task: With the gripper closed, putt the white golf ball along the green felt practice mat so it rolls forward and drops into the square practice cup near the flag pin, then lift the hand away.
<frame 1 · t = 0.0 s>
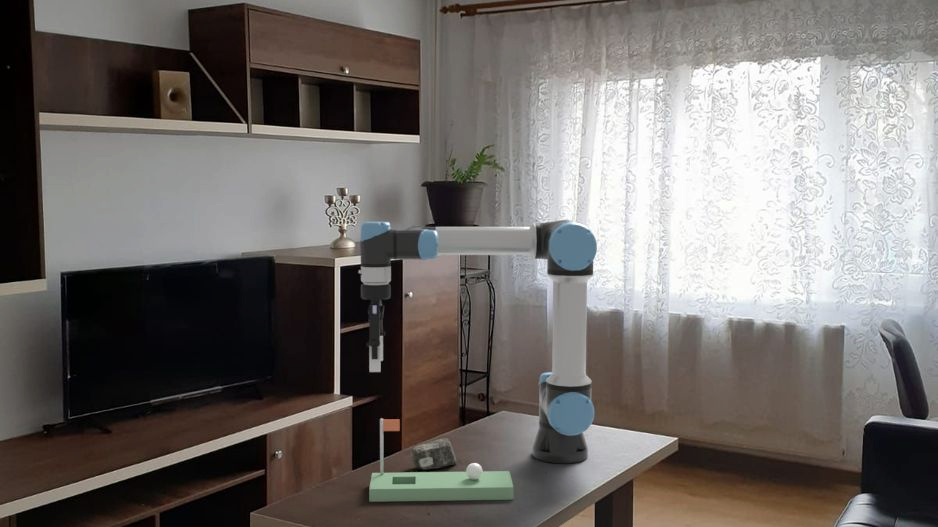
hand: (376, 366, 236), 28 cm above the table, fingers open, 13 cm apart
ball: (474, 471, 225), point 5 cm above the table, touching green
stone: (436, 467, 245), on the table
green: (441, 491, 225), on the table
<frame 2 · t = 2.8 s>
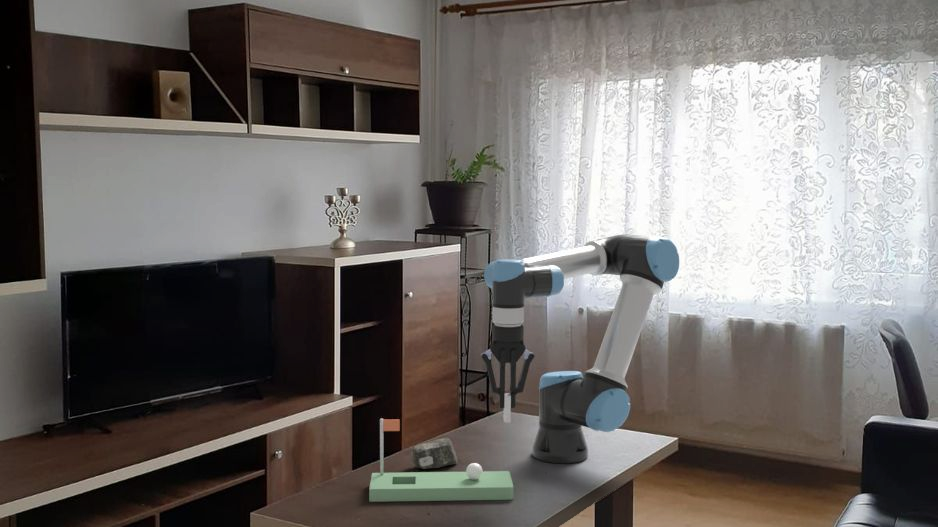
hand: (507, 421, 224), 17 cm above the table, fingers closed
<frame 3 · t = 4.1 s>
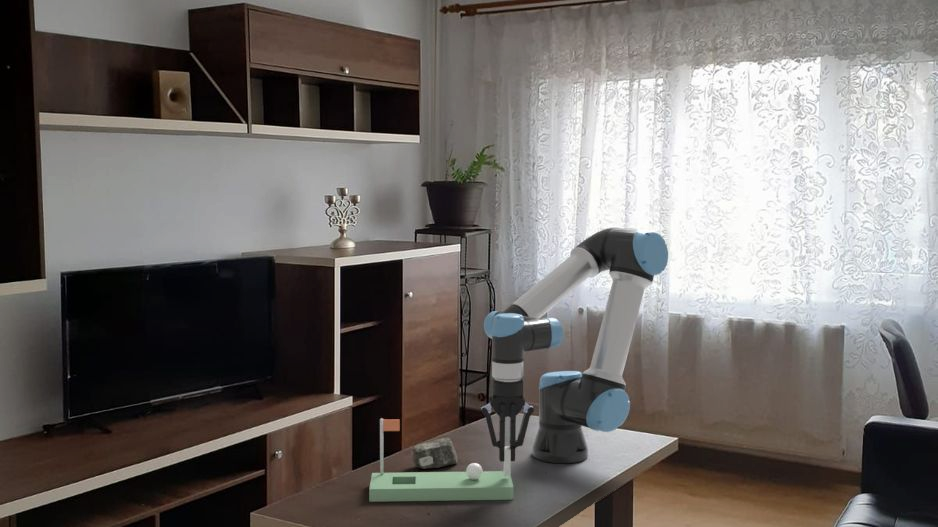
hand: (506, 474, 225), 4 cm above the table, fingers closed
nothing on the table moved.
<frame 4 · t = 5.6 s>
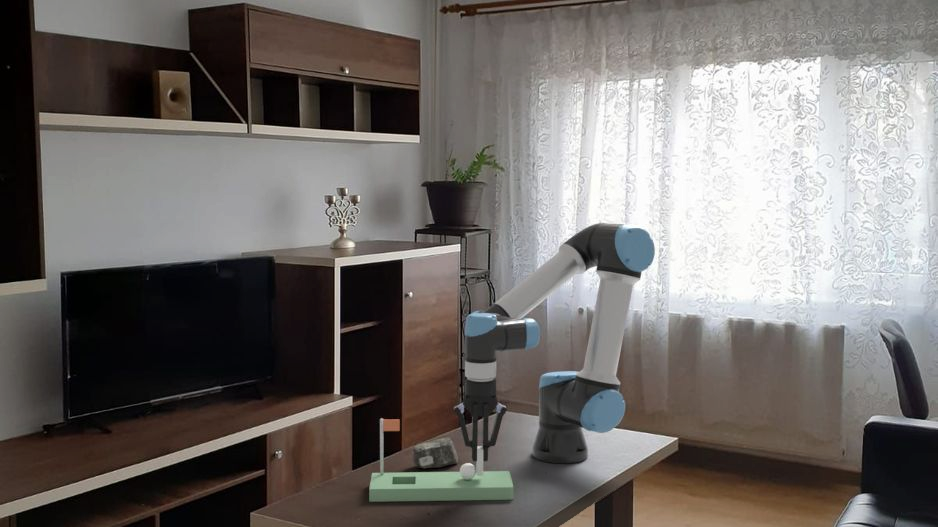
hand: (479, 473, 225), 4 cm above the table, fingers closed
ball: (467, 471, 225), point 5 cm above the table, tilted 42°, touching green
everything else where it was.
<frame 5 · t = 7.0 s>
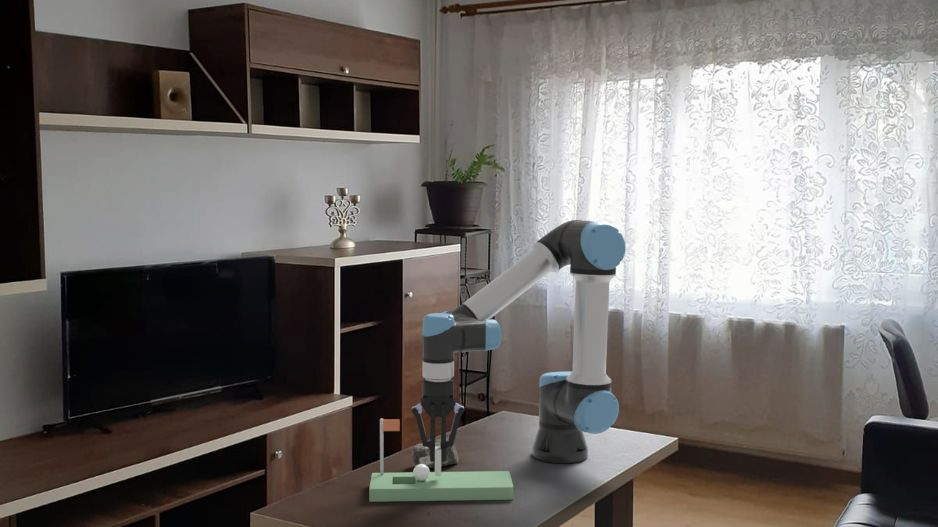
hand: (437, 474, 225), 4 cm above the table, fingers closed
ball: (421, 472, 224), point 5 cm above the table, touching green
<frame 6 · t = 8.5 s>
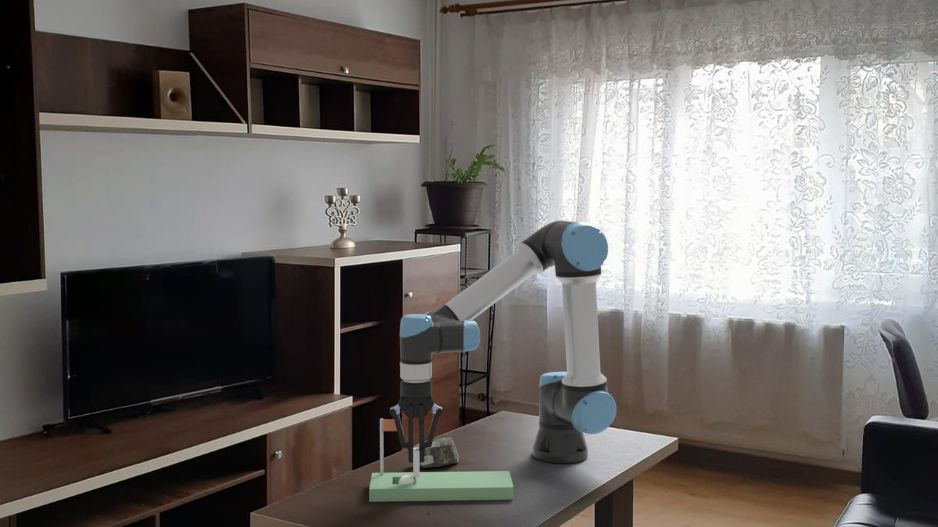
hand: (416, 475, 224), 4 cm above the table, fingers closed
ball: (406, 483, 224), point 2 cm above the table, tilted 133°, touching green
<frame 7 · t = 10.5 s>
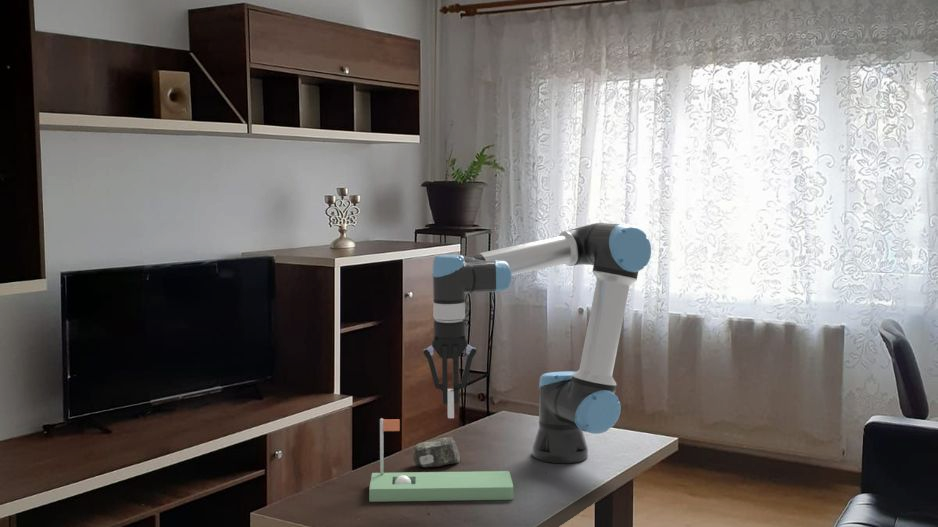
hand: (450, 416, 224), 19 cm above the table, fingers closed
ball: (403, 483, 224), point 2 cm above the table, tilted 158°, touching green
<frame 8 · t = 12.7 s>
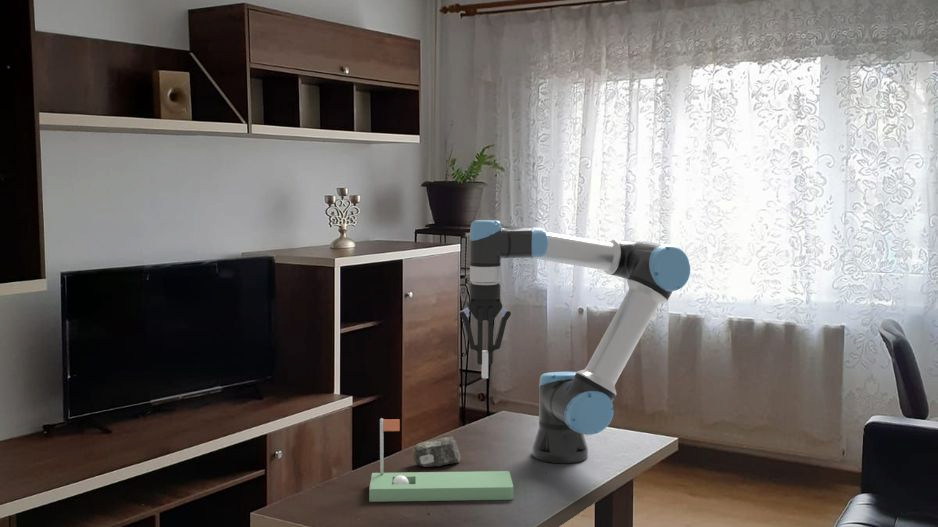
hand: (484, 377, 231), 26 cm above the table, fingers closed
ball: (400, 483, 224), point 2 cm above the table, tilted 175°, touching green
at the end: ball 0.9 cm from the target spot on the green, point 2.3 cm above the green's base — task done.
